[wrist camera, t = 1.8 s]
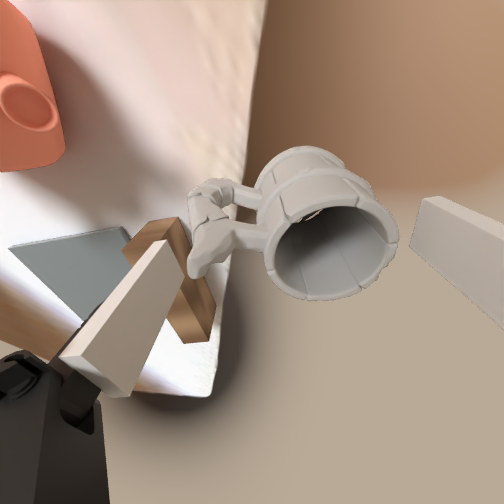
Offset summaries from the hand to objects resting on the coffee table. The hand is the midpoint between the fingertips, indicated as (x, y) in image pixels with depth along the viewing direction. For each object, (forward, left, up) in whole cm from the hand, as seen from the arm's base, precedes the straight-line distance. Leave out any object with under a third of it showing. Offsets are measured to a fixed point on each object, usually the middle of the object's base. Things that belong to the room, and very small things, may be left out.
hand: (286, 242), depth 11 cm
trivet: (+7, -22, -8) cm, 25 cm away
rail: (+7, -11, -8) cm, 16 cm away
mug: (0, 0, -9) cm, 9 cm away
